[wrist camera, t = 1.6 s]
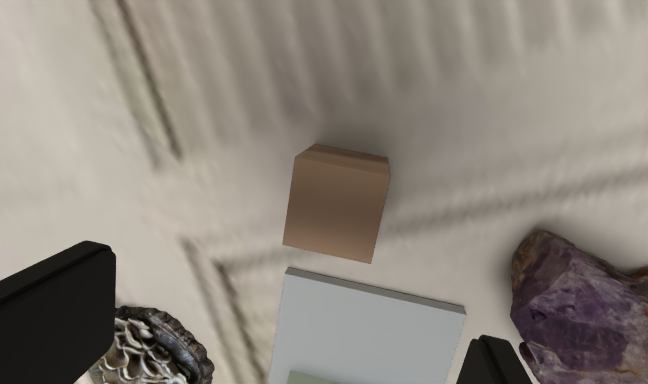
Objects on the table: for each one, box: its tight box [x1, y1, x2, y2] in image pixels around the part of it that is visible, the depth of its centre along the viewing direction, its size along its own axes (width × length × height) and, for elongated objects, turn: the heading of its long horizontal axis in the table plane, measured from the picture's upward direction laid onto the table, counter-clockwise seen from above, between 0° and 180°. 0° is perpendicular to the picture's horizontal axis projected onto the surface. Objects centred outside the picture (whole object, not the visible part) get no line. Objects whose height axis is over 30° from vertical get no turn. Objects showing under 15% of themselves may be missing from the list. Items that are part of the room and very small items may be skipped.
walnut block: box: [282, 144, 391, 264], centre depth 22 cm, size 5×5×6 cm
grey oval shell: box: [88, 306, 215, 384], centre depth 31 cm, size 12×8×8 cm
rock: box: [510, 231, 648, 384], centre depth 20 cm, size 12×9×10 cm
